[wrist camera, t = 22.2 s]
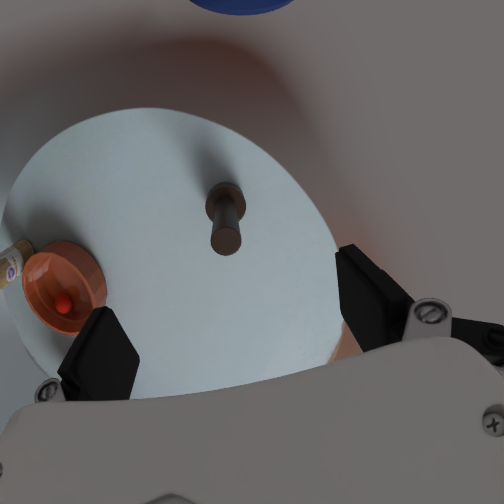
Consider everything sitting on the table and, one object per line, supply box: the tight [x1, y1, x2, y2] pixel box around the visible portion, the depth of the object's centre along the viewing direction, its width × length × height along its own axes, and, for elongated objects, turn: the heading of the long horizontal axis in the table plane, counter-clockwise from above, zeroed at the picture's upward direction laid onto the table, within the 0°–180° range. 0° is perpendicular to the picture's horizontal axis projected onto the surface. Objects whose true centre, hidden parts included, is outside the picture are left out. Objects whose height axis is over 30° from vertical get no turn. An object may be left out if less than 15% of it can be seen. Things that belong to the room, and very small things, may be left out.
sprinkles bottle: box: [0, 239, 35, 290], centre depth 27 cm, size 5×5×13 cm
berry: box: [55, 294, 73, 314], centre depth 35 cm, size 3×3×3 cm
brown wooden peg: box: [205, 182, 246, 256], centre depth 27 cm, size 4×4×15 cm
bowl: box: [22, 241, 107, 336], centre depth 34 cm, size 13×13×5 cm
